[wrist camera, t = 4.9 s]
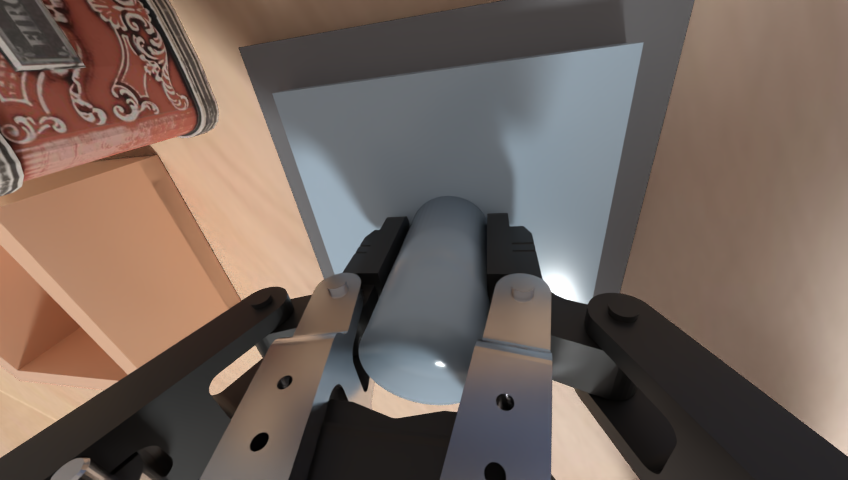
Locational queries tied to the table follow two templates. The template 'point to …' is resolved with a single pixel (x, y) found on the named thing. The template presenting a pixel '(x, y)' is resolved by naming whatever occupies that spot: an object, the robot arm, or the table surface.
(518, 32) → the mat
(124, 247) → the tan open box
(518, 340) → the robot arm
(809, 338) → the table surface
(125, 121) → the lighter
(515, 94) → the lid
